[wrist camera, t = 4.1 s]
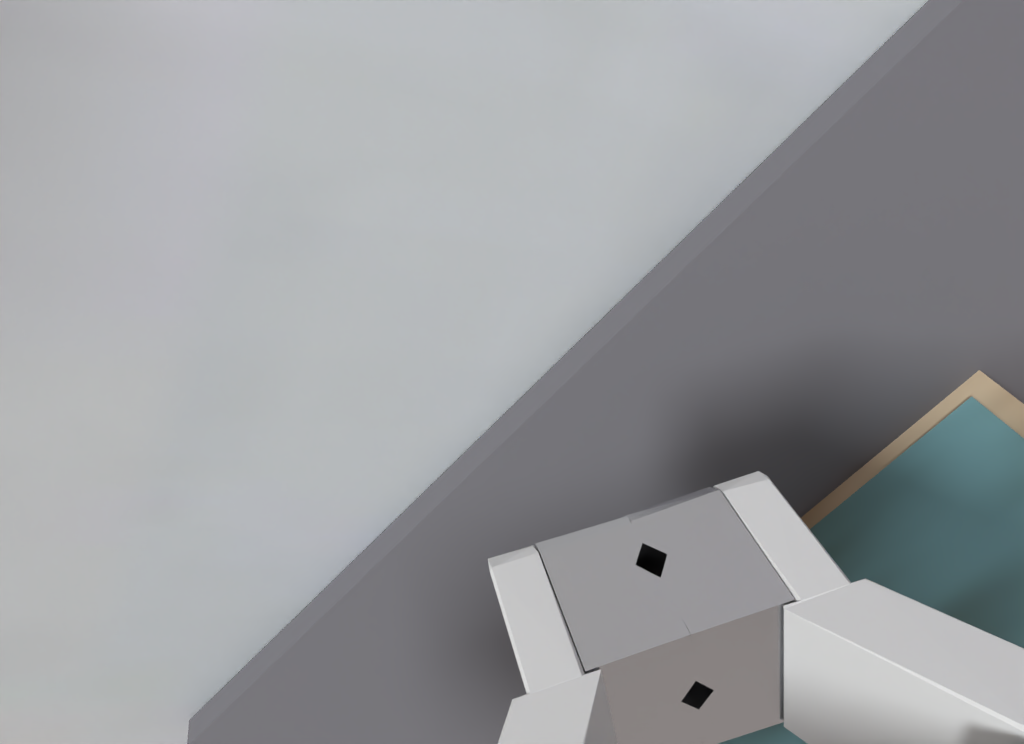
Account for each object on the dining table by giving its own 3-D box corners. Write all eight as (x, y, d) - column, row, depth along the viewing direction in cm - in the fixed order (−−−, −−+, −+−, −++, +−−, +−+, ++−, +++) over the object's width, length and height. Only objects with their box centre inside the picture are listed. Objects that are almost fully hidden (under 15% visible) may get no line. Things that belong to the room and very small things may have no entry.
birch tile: (677, 705, 20) (838, 1051, 15) (607, 670, 19) (755, 1037, 13) (1025, 429, 18) (1380, 713, 12) (975, 364, 16) (1352, 651, 11)
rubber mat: (785, 911, 30) (794, 929, 30) (189, 720, 17) (187, 746, 17) (1362, 515, 25) (1384, 529, 24) (1112, -180, 12) (1148, -179, 12)
